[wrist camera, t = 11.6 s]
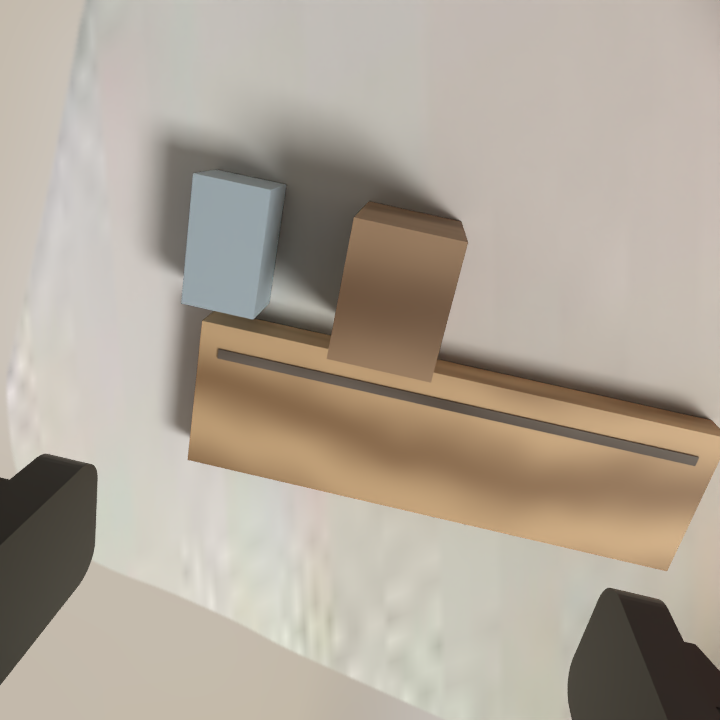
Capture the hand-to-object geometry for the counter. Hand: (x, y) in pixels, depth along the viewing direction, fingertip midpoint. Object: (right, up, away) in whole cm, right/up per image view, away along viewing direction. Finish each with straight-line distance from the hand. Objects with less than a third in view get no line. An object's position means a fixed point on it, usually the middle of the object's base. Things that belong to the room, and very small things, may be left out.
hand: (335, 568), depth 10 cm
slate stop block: (-5, +9, +21) cm, 23 cm away
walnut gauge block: (+2, +8, +21) cm, 22 cm away
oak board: (+5, -1, +23) cm, 24 cm away
